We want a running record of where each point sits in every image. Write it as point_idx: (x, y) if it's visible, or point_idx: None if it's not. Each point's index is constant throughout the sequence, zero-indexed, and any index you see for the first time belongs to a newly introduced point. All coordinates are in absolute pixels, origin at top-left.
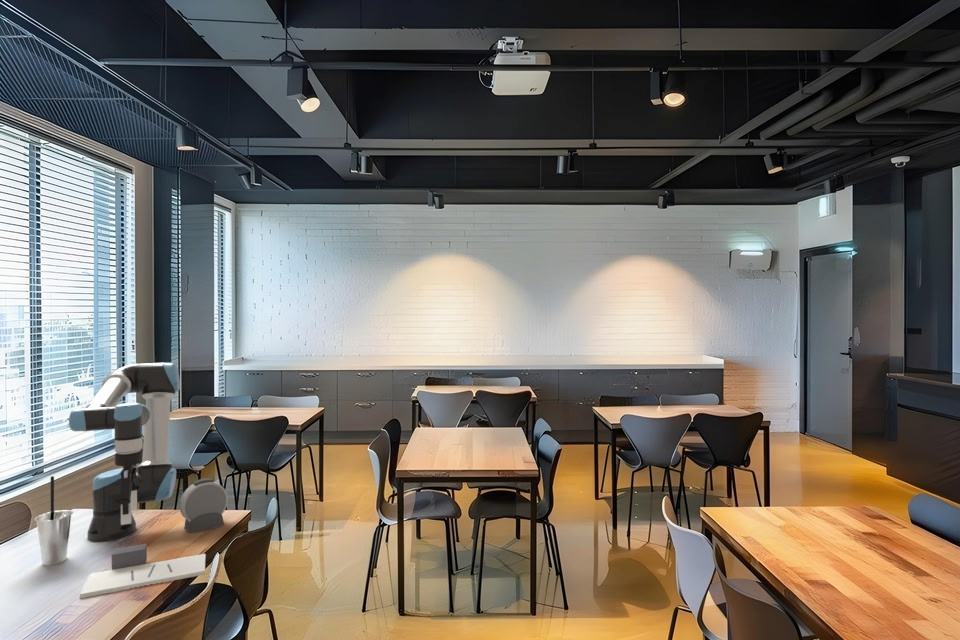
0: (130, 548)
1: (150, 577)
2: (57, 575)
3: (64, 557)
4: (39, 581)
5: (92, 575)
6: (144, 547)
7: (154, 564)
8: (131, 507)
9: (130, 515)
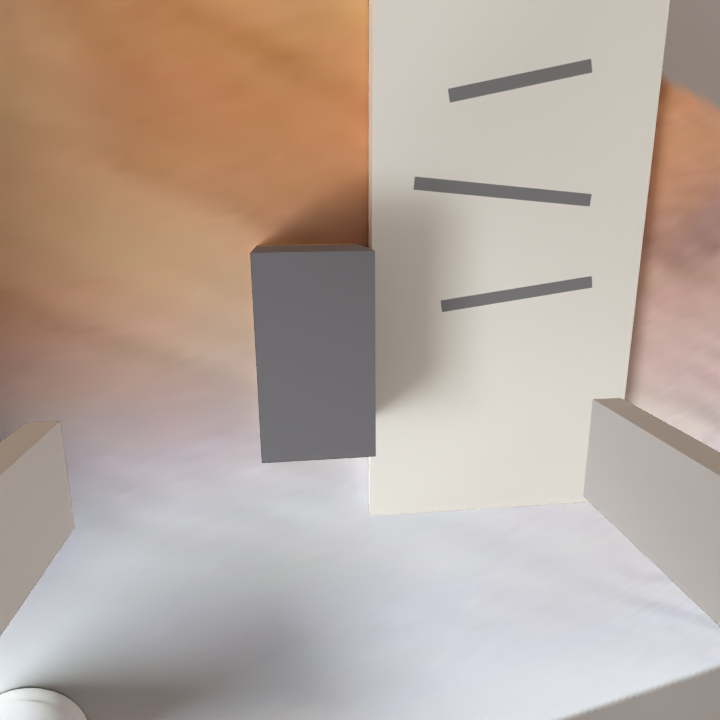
0: (307, 355)
1: (600, 188)
2: (257, 659)
3: (42, 704)
4: (299, 710)
5: (401, 500)
6: (334, 258)
7: (406, 184)
8: (49, 504)
9: (683, 439)
